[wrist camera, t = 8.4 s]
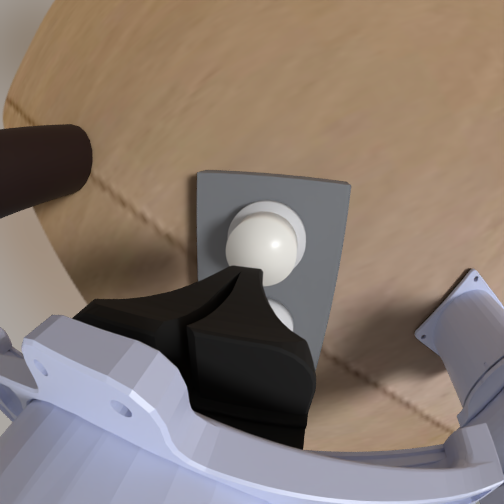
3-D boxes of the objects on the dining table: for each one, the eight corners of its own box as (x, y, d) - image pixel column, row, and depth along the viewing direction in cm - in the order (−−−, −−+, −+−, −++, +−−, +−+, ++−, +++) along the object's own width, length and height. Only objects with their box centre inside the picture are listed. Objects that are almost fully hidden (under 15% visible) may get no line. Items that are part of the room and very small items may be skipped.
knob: (293, 275, 18) (292, 290, 16) (233, 268, 19) (225, 281, 17) (300, 214, 17) (300, 223, 15) (235, 208, 17) (226, 216, 15)
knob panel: (303, 400, 26) (301, 422, 24) (211, 386, 28) (202, 405, 25) (346, 181, 18) (353, 187, 16) (207, 169, 20) (191, 173, 17)
